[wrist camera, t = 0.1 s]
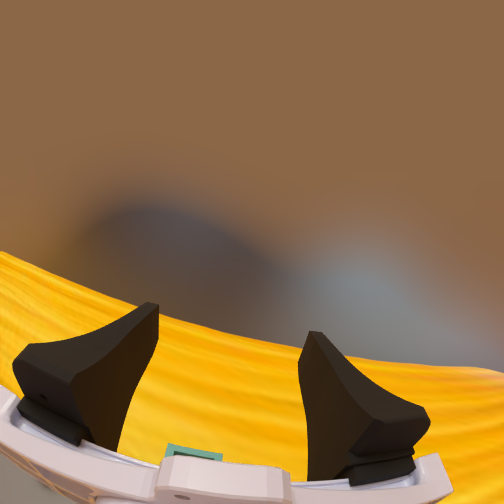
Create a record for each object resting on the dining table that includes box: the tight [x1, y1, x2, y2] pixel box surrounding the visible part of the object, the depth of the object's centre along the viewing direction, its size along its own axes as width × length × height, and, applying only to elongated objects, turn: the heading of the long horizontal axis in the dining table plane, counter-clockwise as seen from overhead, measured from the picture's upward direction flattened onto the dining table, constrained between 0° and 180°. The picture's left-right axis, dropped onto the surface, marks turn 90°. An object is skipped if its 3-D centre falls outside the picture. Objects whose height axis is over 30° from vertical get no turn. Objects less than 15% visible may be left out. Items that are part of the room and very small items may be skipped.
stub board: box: [0, 453, 78, 504], centre depth 13 cm, size 14×14×4 cm
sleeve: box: [164, 443, 223, 461], centre depth 18 cm, size 5×5×6 cm
